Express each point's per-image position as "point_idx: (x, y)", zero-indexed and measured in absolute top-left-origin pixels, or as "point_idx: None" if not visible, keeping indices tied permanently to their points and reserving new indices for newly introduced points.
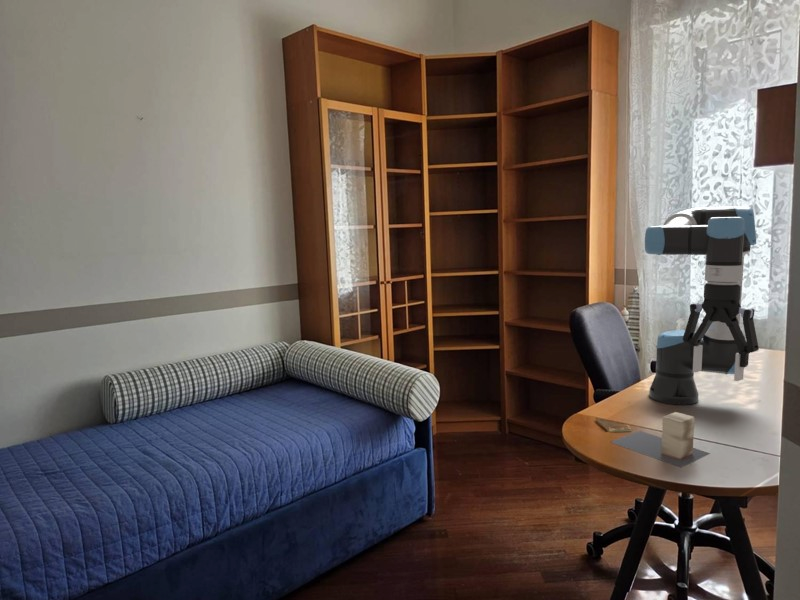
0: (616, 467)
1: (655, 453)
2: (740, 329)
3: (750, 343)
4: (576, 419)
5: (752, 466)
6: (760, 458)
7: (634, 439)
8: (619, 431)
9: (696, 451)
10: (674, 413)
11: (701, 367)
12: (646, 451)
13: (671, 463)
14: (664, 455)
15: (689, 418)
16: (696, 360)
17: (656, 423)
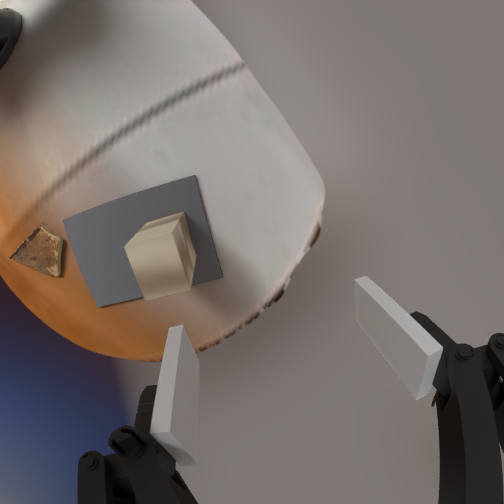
0: None
1: None
2: (499, 471)
3: (499, 405)
4: (7, 280)
5: (266, 146)
6: (248, 99)
7: (94, 261)
8: (59, 259)
9: (177, 194)
10: (133, 259)
11: (181, 334)
12: None
13: (203, 280)
14: None
15: (176, 253)
16: (198, 403)
17: (41, 154)
